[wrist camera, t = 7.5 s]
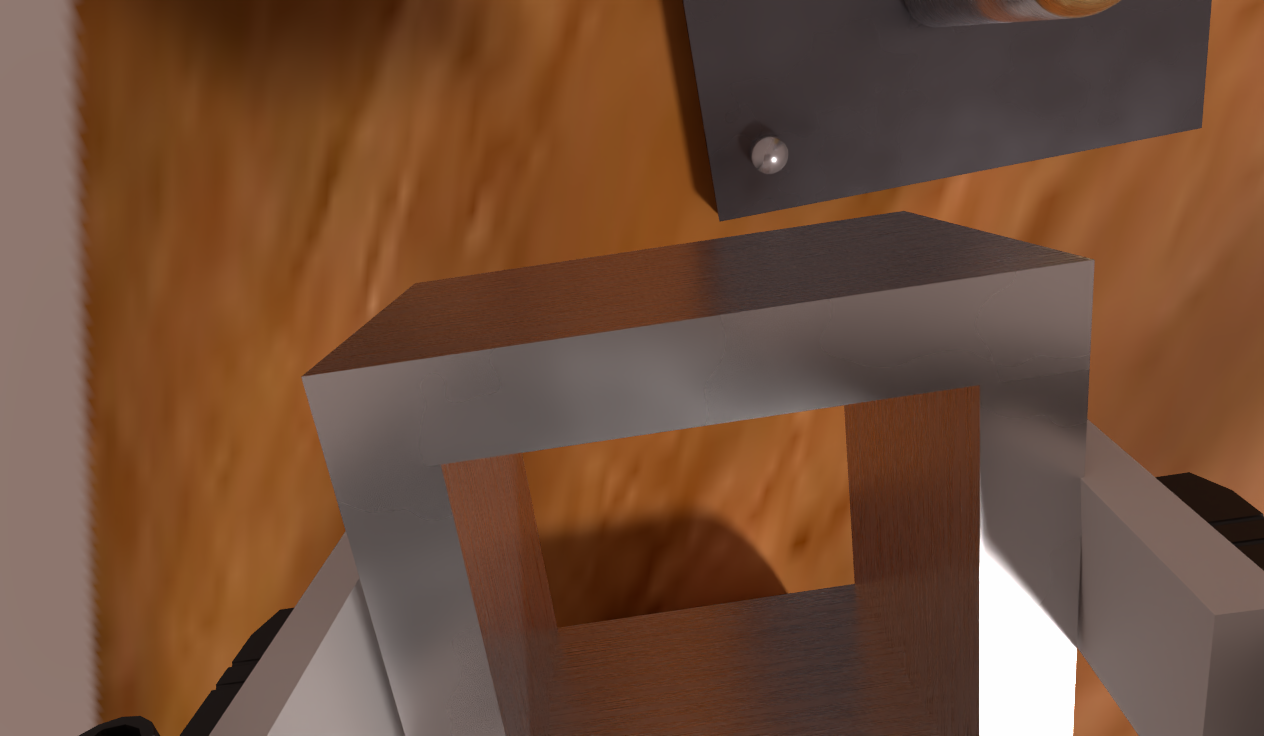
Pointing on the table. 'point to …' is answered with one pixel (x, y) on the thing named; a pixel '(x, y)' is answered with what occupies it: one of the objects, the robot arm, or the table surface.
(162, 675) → the table surface
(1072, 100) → the keeper
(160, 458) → the table surface
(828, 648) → the link
